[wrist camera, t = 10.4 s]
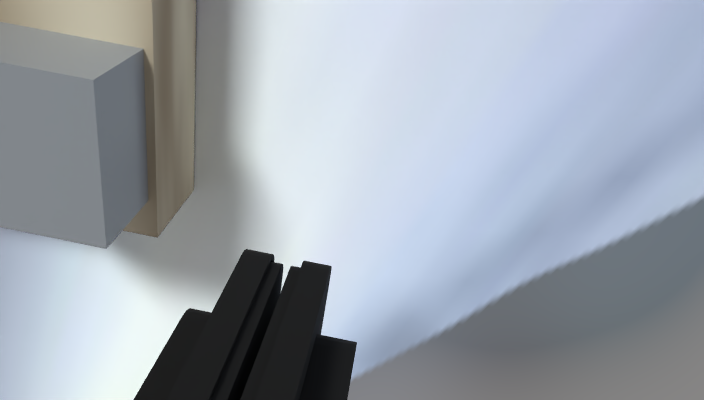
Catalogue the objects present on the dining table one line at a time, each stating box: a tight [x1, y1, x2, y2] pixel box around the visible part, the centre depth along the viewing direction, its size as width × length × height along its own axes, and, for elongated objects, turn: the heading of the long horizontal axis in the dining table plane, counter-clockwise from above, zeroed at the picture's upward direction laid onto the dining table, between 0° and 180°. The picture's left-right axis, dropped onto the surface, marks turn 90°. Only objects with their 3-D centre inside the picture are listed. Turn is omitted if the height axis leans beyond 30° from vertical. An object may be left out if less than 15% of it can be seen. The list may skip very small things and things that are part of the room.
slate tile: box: [0, 22, 148, 249], centre depth 15 cm, size 4×4×2 cm
